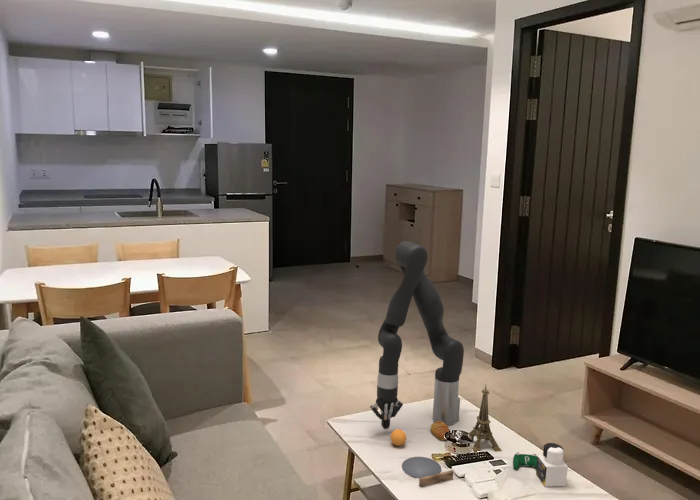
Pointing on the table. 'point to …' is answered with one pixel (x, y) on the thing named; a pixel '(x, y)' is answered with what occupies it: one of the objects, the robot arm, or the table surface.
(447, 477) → the strip
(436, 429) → the pastry
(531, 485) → the table surface
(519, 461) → the gaming controller
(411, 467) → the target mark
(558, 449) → the medicine bottle
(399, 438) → the ball
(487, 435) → the eiffel tower
